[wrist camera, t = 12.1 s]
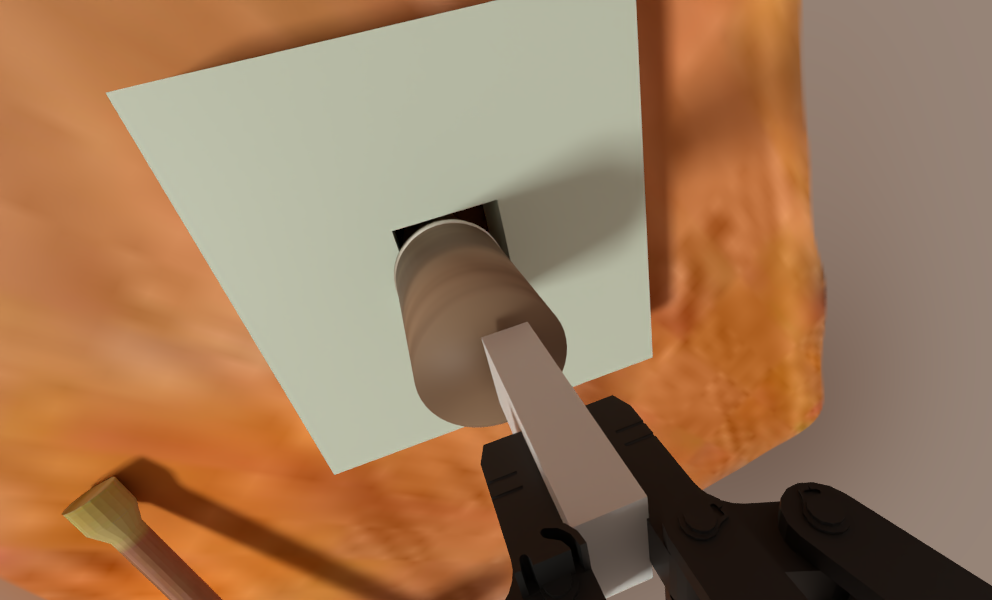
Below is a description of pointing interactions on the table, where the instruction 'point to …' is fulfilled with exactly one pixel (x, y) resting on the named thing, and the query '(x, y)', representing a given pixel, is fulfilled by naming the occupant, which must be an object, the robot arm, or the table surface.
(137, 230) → the table surface
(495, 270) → the peg
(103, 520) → the hammer
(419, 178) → the board
